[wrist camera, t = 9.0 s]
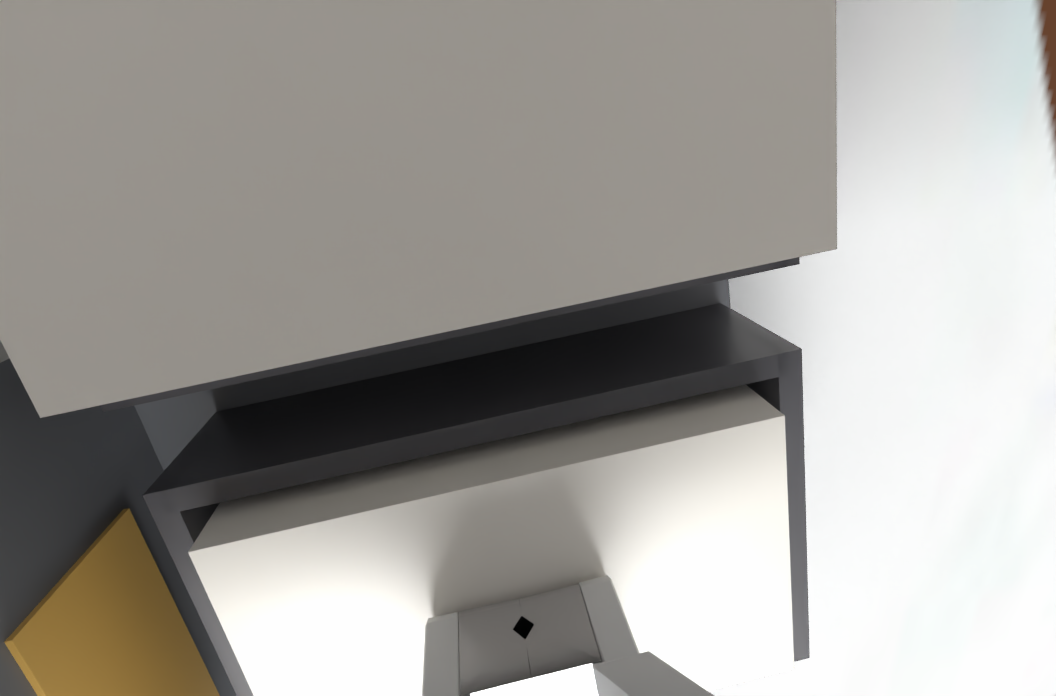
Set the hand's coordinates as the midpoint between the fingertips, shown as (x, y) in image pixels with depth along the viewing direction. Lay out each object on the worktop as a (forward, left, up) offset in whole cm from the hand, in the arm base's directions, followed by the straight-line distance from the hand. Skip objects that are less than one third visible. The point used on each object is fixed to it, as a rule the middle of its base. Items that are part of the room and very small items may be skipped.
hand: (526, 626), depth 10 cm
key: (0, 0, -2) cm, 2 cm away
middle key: (-8, 0, -1) cm, 8 cm away
